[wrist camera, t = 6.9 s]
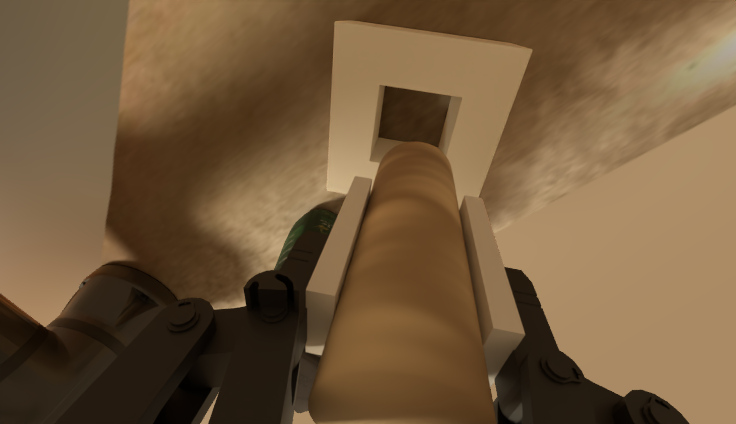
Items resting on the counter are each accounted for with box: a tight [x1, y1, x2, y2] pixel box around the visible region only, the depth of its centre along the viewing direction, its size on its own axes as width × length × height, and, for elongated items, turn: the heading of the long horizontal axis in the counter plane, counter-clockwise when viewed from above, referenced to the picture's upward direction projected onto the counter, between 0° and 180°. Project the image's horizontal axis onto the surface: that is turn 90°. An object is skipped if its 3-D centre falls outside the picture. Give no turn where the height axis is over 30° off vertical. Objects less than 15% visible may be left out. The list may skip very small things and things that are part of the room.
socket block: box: [327, 20, 533, 210], centre depth 26 cm, size 13×13×6 cm
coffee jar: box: [274, 209, 337, 413], centre depth 31 cm, size 10×8×19 cm
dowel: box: [308, 142, 497, 424], centre depth 12 cm, size 4×4×12 cm
